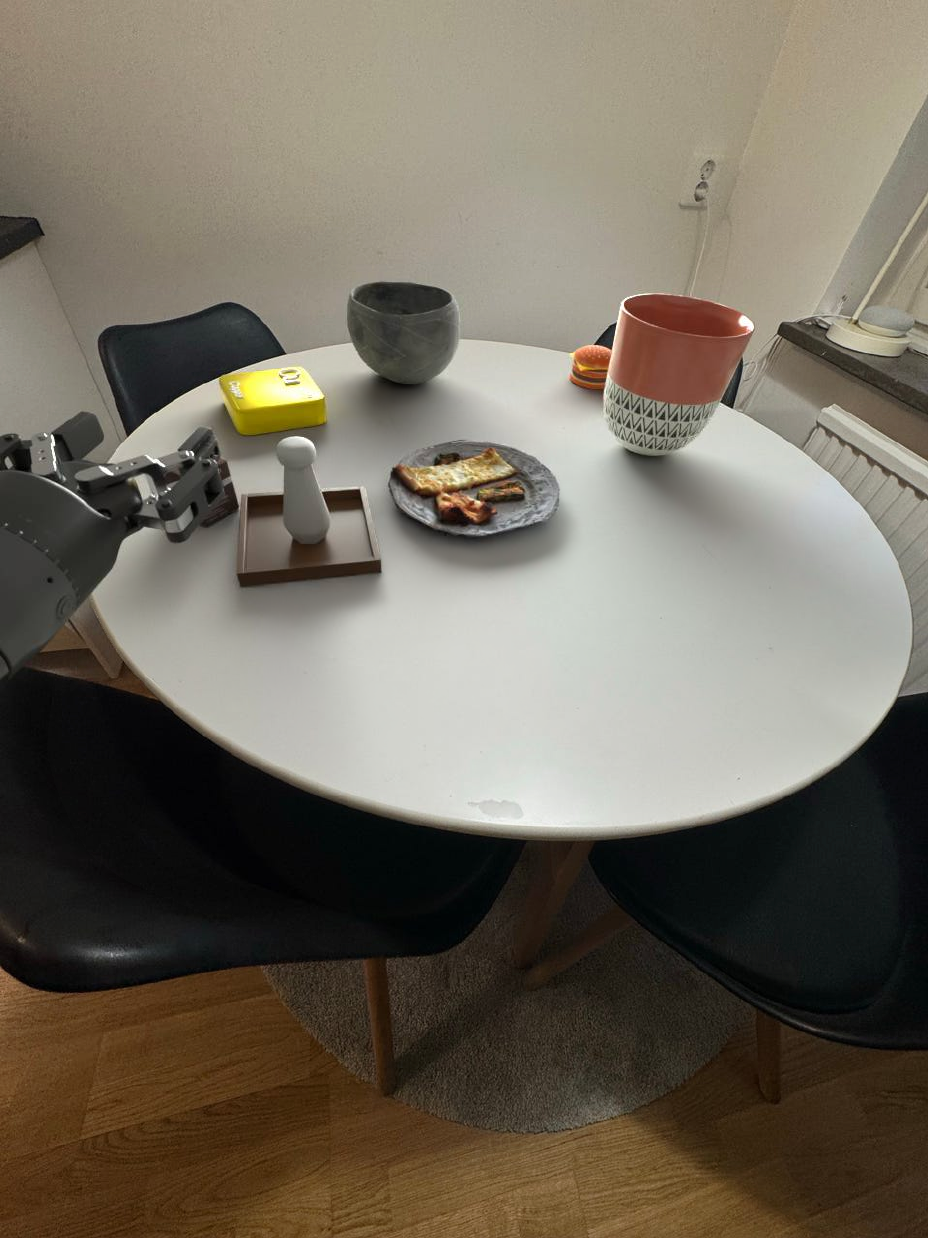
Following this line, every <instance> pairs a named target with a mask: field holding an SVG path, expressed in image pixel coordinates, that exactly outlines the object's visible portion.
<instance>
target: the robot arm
mask: <svg viewBox="0 0 928 1238" xmlns="http://www.w3.org/2000/svg"><path fill="white" fill-rule="evenodd" d="M104 440H105V434H104V431H103V428H102V426H101V423H100V422H99V419H98V416H97V415H96V413H94V412H93V411H92V412H91V411H82V410H81V411H80V412H78V413H77V414H76V415H74V416H73V417H72V418H70V419H67V420H66V421H64V422H63V423H62V424H61V425H59V426H58V427H57V428H55V429H54V430H52V431H51V432H48V431H47V432H37V433H35V434H33V435H32V436H31V438H30V439H22V438H21V436H20V435H19V434H18V433H14V432H13V433H5V434H2V435H0V691H1V690H2V689H3V687H5V685H6V684H7V683H8V682H9V681H10V680H11V679H12V678H13V677H14V676H15V675H16V674H17V673H18V672H19V671H20V670H21V669H22V668H23V667H24V666H26V665H27V664H28V663H29V662H30V661H32V660H33V659H34V658H35V657H36V656H37V655H38V654H40V653H41V652H42V651H43V650H44V649H45V648H46V647H47V645H48V644H49V643H50V642H51V641H52V640H53V639H54V638H55V636H56V635H57V634H58V633H59V631H60V630H61V629H62V628H63V627H64V626H65V625H66V623H67V622H68V621H69V620H70V619H71V617H73V615H74V614H75V612H77V610H78V609H79V608H80V607H81V606H82V605H83V604H84V602H86V600H87V599H88V598H89V597H90V595H91V594H92V593H93V592H94V591H95V590H96V589H97V588H98V587H99V585H100V584H101V583H102V582H103V581H104V579H105V578H106V577H107V575H109V573H110V572H111V571H112V570H113V568H114V566H115V564H116V562H117V559H118V556H119V552H120V549H121V546H122V543H123V541H124V540H125V539H127V538H128V537H130V536H132V535H134V534H135V533H138V532H140V531H141V530H142V529H144V528H146V529H147V528H149V529H153V530H159V531H164V532H165V535H166V538H167V540H168V542H169V543H172V544H181V543H184V542H186V541H187V540H188V539H189V538H191V536H192V535H193V534H194V532H195V531H196V530H197V529H198V527H200V524H201V523H202V522H203V521H204V519H205V518H206V517H207V516H208V515H209V514H210V513H211V511H212V510H213V509H214V508H215V507H216V506H217V504H218V503H219V502H220V501H221V500H222V499H223V497H224V496H225V492H224V489H223V485H222V481H221V477H220V474H219V470H218V467H217V463H216V462H217V461H218V460H219V459H220V458H222V453H221V448H220V445H219V441H218V437H217V435H216V434H214V430H213V429H212V427H206V426H199V427H198V428H197V429H196V430H195V431H194V432H193V433H191V435H190V436H188V438H187V439H186V440H185V441H184V442H183V443H182V444H181V446H179V448H177V451H176V452H173V453H169V454H167V455H164V456H161V457H158V458H154V457H152V456H150V455H149V454H141V455H139V456H136V457H132V458H130V459H126V460H123V461H120V462H117V463H112V462H110V463H109V462H107V463H106V462H104V463H102V462H101V463H100V462H99V463H98V462H95V461H91V460H89V459H84V458H85V457H86V456H87V455H89V454H90V453H91V452H92V451H94V450H95V449H96V448H97V447H98V446H100V444H102V443H103V442H104ZM7 458H8V460H9V462H10V463H11V466H10V467H8V465H7V464H6V459H7ZM177 469H178V470H179V474H180V477H181V479H180V480H179V481H176V482H173V483H170V484H168V485H167V483H166V480H165V475H166V474H167V473H169V472H171V471H174V470H177ZM141 475H144V476H145V479H146V481H147V484H148V486H149V489H150V495H149V496H148V497H146V498H145V499H143V497H142V494H141V491H140V488H139V485H138V483H137V481H136V478H137V477H138V476H141Z"/></svg>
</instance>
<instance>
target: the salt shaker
mask: <svg viewBox="0 0 928 1238" xmlns="http://www.w3.org/2000/svg"><path fill="white" fill-rule="evenodd" d="M276 458H277V461H278V462H279V463H280V465H281V466H282V467H283V491H284V504H283V523H284V526H285V528H286V529H287V531H288V532H289V533H290V534H291V535H292V537H293V538H294V539H295V540H297V541H298V542H299V543H300V544H316V543H317V542H319V541H320V540H322V539H323V538H325V536H326V534H327V531H328V529H329V526H330V514H329V511H328V508H327V506H326V503H325V500H324V498H323V495H322V492H321V489H322V488H321V487H320V485H319V481H318V479H317V476H316V474H315V473H316V472H315V470H314V468H313V464H314V463H315V462H316V458H317V452H316V448H315V445H314V443H313V442H312V441H311V440H310V439H308V438H306V437H303V436H288V437H286V438H283V439H282V440H280V441H279V442H278V443H277V446H276Z"/></svg>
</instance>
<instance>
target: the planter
mask: <svg viewBox="0 0 928 1238" xmlns="http://www.w3.org/2000/svg"><path fill="white" fill-rule="evenodd" d="M620 304H621V305H620V307H619V312H618V318H617V322H616V327H615V333H614V338H613V343H612V347H611V351H612V352H611V357H610V362H609V367H608V372H607V378H606V383H605V388H604V389H603V399H602V400H603V402H602V404H603V416H604V417H603V418H604V420H605V424H606V426H607V429H608V430H609V432H610V434H611V435H612V437H613V438H614V439H615V440H616V441H617V442H618V443H619V444H620V445H621V446H622V447H623V448H625V449H626V450H628V451H630V452H633V453H635V454H637V455H643V456H649V457H658V456H665V455H669V454H673V453H675V452H677V451H679V450H682V449H683V448H685V447H687V446H688V445H690V444H691V443H692V442H694V441H695V440H696V439H697V438H698V437H699V436H700V435H701V434H702V433H703V431H704V430H705V429H706V428H707V426H708V425H709V423H710V421H711V420H712V418H713V417H714V415H715V413H716V412H717V409H718V407H719V405H720V403H721V401H722V399H723V397H724V396H725V393H726V391H727V389H728V387H729V385H730V383H731V381H732V379H733V376H734V374H735V372H736V370H737V368H738V366H739V364H740V362H741V360H742V357H743V355H744V354H745V352H746V349H747V348H748V346H749V343H750V341H751V339H752V336H753V334H754V332H755V329H756V325H755V323H754V321H753V320H752V319H751V318H750V317H748V316H747V315H746V314H744V313H742V312H740V311H739V310H736V309H734V308H732V307H729V306H726V305H723V304H721V303H718V302H714V301H711V300H706V299H702V298H697V297H692V296H686V295H678V294H668V293H644V294H642V293H641V294H636V295H632V296H629V297H626V298H625V299H623V301H622V302H621V303H620Z"/></svg>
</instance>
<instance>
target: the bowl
mask: <svg viewBox="0 0 928 1238" xmlns="http://www.w3.org/2000/svg"><path fill="white" fill-rule="evenodd" d="M346 325H347V330H348V333H349V337H350V340H351V343H352V345H353V347H354V349H355V351H356V353H357V355H358V357H360V359H361V361H363V363H364V364H365V365H366V366H367V368H369V369H371V370H372V371H373V372H375V373H376V374H377V375H379V376H380V377H383V378H384V379H386V380H388V381H391V382H394V383H397V384H402V385H418V384H422V383H425V382H428V381H431V380H432V379H434V378H435V377H438V376H439V375H440V374H442V373H443V372H444V371H445V370H446V369H447V368H448V366H449V365H450V363H451V362H452V361H453V359H454V357H455V355H456V352H457V349H458V347H459V343H460V340H461V339H460V338H461V314H460V309H459V305H458V301H457V299H456V297H455V295H454V294H453V293H452V292H450V291H449V290H447V289H445V288H442V287H439V286H434V285H430V284H425V283H418V282H412V281H384V280H379V281H371V282H364V283H361V284H357V285H356V286H355V287H353V288H352V289H351V290H350V292H349V295H348V299H347V305H346Z"/></svg>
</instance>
